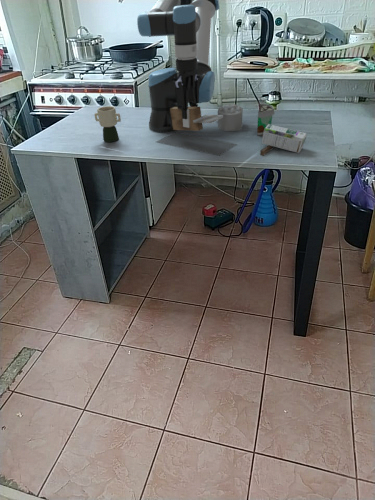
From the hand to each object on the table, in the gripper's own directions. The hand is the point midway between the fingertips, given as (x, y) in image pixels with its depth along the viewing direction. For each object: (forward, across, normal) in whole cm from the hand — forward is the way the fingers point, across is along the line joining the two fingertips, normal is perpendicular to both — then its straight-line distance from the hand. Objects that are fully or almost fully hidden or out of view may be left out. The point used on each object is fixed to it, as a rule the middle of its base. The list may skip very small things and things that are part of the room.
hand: (189, 125), depth 146 cm
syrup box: (+2, +10, -26) cm, 28 cm away
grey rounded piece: (+7, +24, -4) cm, 25 cm away
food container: (+7, +24, -20) cm, 32 cm away
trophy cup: (+7, -13, +31) cm, 34 cm away
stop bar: (+7, +8, -30) cm, 32 cm away
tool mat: (+7, 0, -2) cm, 7 cm away
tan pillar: (+1, 0, -3) cm, 3 cm away
